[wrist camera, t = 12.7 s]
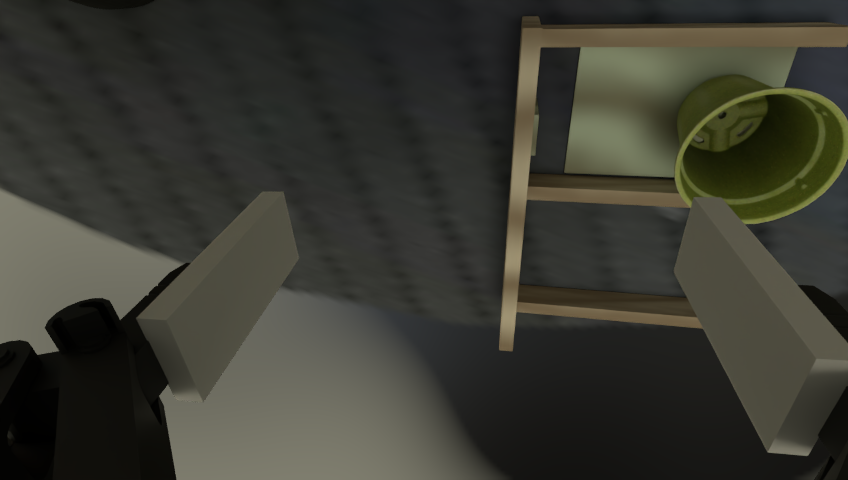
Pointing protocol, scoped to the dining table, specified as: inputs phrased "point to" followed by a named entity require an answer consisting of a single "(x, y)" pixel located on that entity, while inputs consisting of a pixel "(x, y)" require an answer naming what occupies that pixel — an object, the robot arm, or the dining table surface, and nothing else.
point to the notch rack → (628, 135)
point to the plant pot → (758, 147)
